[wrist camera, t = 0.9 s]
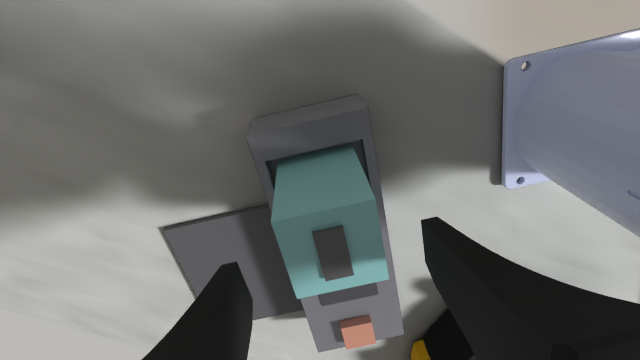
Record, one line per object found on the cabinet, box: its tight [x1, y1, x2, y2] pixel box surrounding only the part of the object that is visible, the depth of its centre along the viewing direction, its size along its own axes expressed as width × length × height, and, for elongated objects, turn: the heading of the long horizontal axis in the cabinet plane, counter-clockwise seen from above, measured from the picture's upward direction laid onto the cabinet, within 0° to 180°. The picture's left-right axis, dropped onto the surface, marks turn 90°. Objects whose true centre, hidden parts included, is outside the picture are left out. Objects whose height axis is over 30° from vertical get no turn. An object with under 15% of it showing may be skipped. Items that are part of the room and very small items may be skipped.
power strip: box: [246, 94, 404, 352], centre depth 21 cm, size 16×6×4 cm, turn 13°
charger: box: [271, 144, 389, 299], centre depth 16 cm, size 4×4×6 cm
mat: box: [163, 204, 304, 320], centre depth 23 cm, size 7×9×1 cm
